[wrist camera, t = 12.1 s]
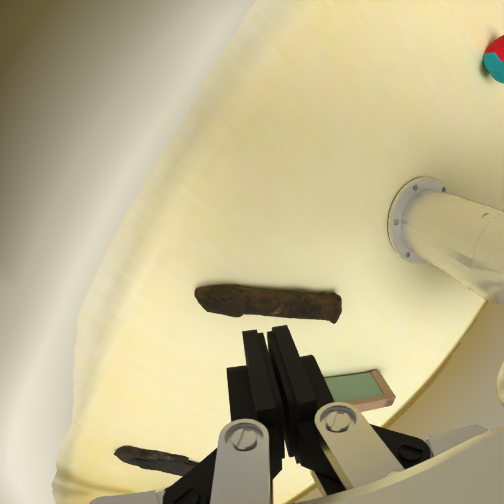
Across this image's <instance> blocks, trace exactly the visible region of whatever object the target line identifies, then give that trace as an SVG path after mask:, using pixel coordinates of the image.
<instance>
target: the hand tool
mask: <svg viewBox="0 0 504 504" xmlns="http://www.w3.org/2000/svg"><path fill="white" fill-rule="evenodd" d="M195 298H196V299H197V301H198V303H199V304H200V305H201V306H202V307H203V308H204V309H205V310H206V311H207V312H212V313H217V314H223V315H227V316H231V317H241V316H242V315H243V314H248V315H249V314H252V315H263V316H273V317H283V318H297V319H316V320H327V321H330V322H331V323H333V324H335V323H336V322H337V320H338V318H339V316H340V314H341V312H342V307H341V306H342V299H341V297H340V296H339V295H337V294H336V293H332V294H331V295H328V294H326V293H322V294H312V293H293V292H289V291H271V290H260V289H251V288H245V287H241V286H240V285H215V286H207V287H202V288H197V289H195Z"/></svg>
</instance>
